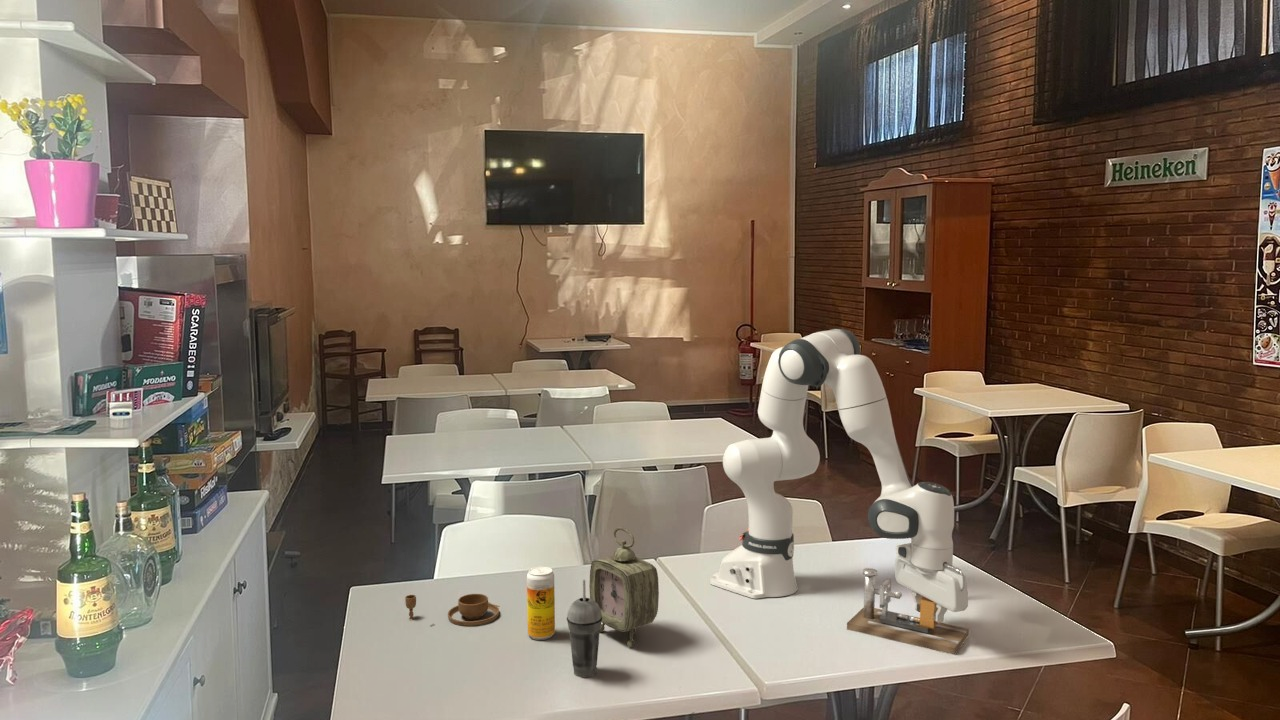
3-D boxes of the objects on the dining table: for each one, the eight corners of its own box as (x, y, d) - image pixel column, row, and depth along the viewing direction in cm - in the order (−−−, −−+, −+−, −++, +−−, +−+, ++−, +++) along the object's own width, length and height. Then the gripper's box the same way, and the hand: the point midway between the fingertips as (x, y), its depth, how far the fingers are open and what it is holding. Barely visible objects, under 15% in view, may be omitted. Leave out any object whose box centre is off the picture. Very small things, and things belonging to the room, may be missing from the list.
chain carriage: (878, 622, 204) (879, 585, 203) (886, 614, 209) (887, 578, 208) (932, 634, 198) (933, 596, 197) (938, 626, 202) (940, 589, 201)
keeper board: (846, 629, 205) (847, 621, 205) (864, 611, 215) (865, 604, 215) (954, 654, 192) (955, 646, 192) (968, 635, 202) (969, 627, 202)
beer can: (529, 642, 198) (528, 576, 196) (525, 631, 204) (524, 567, 202) (557, 639, 200) (556, 574, 198) (552, 628, 206) (551, 565, 204)
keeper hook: (859, 617, 208) (861, 571, 207) (864, 613, 210) (865, 567, 209) (898, 626, 203) (899, 579, 202) (902, 621, 206) (904, 574, 204)
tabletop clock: (589, 631, 204) (589, 524, 201) (620, 621, 210) (620, 516, 207) (630, 652, 193) (630, 539, 190) (661, 641, 199) (662, 531, 196)
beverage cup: (602, 663, 188) (602, 571, 185) (602, 680, 180) (602, 584, 178) (567, 664, 187) (567, 571, 185) (566, 680, 180) (565, 584, 178)
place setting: (472, 637, 202) (472, 612, 201) (401, 622, 210) (400, 598, 209) (514, 609, 218) (514, 586, 217) (446, 597, 226) (445, 574, 225)
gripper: (976, 569, 190) (973, 632, 192) (913, 541, 209) (911, 598, 211) (953, 573, 188) (950, 636, 190) (890, 544, 207) (889, 602, 208)
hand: (929, 616), depth 200 cm, fingers closed on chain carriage, 4 cm apart
